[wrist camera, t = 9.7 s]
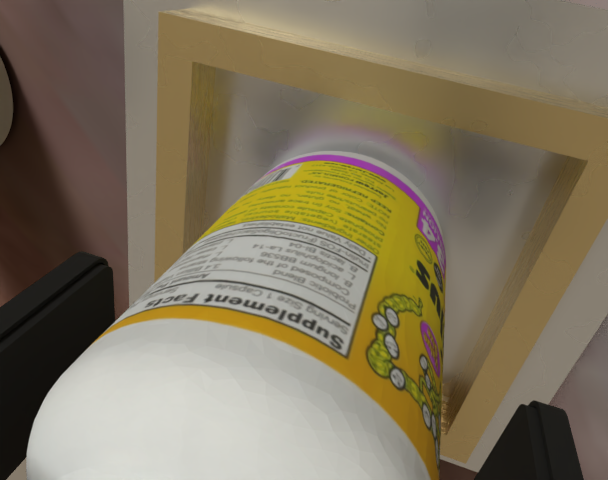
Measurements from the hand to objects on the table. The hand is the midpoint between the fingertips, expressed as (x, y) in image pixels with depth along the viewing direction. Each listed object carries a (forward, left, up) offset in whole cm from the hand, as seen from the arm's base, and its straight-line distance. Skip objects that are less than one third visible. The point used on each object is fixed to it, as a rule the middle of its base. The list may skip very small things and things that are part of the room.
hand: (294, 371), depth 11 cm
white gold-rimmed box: (0, 0, -11) cm, 11 cm away
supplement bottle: (0, 0, -6) cm, 6 cm away
